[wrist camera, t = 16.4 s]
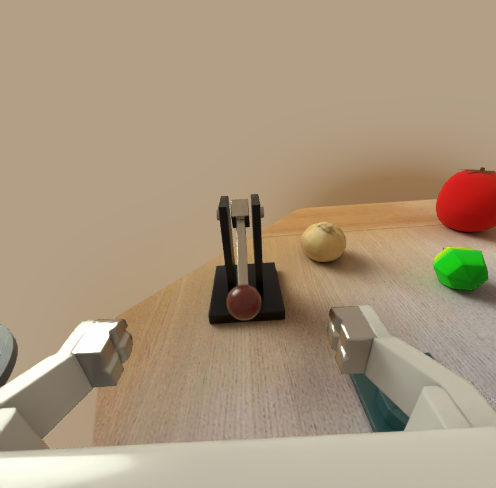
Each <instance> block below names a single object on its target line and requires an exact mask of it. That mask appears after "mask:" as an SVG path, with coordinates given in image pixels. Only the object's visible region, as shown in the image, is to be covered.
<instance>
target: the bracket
mask: <svg viewBox="0 0 496 488" xmlns="http://www.w3.org/2000/svg"><path fill="white" fill-rule="evenodd" d="M218 209H219V210H217V220H220V226H221V234H222V243H223V250H224V259H225V265H224V266H216V272H215V279H214V285H213V291H212V297H211V303H210V309H209V315H208V316H209V322H210V324H215V323H231V322H248V321H264V320H281V319H285V309H284V304H283V300H282V295H281V290H280V286H279V281H278V277H277V272H276V268H275V263H274V262H272V263H262V238H261V218H263V217H264V209H263V207H260V201H259V196H258V194H253V195H251V209H252V227H253V246H254V264H247V266H248V284H249V285H250V286H252V287H254V288H255V289H256V290H257V291H258V292H259V294H260V296H261V301H262V303H261V308H260V311H259V312H258V314H257V315H256V316H255V317H253V318H252V319H249V320H239V319H236V318H235V317H233V316H232V315H231V314H230V312H229V311H228V308H227V297H228V294H229V292H230V291H231V290H232V289H233V288H234V287H236V286H238V268H237V265H235V259H234V249H233V239H232V229H231V218H230V209H229V198H228V196H221V199H220V203H219V207H218Z"/></svg>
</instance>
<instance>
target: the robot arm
mask: <svg viewBox="0 0 496 488" xmlns="http://www.w3.org/2000/svg"><path fill="white" fill-rule="evenodd" d="M329 316H330V318H331V321H330V322H329V323H328V329H327V331H328V339H329V343H330V346H331V348H332V349H333V350H335V351H336V356H335V359H336V361H337V364H338V367H339V369H340V372H341V374H359V373H365V375H366V376H367V377H368V378H369V379H370V380H371V381H372V382H373V383H374V384H375V385H376V386H377V387H378V388H379V389H380V390H381V391H382V392H383V393H384V394H385V395H386V396H388V397H389V398H390V399H391V400H392V401H393V402H394V403H395V404H396V405H397V406H398V407H399V408H400V409H401V410H402V411H403V412H404V413H405V414H406V415H407V416H408V417H410V418H409V421H408V423H407V425H406V427H405V430H404V431H394V432H374V433H354V434H335V435H315V436H295V437H276V438H256V439H236V440H217V441H198V442H179V443H160V444H140V445H120V446H101V447H81V448H62V449H50V448H49V447H48V446H47V445H46V443H45V442H44V441H43V440H42V439H43V438H44V436H46V435H47V434H48V433H49V432H50V431H51V430H52V429H53V428H54V427H55V426H56V425H57V424H58V423H59V422H60V421H61V420H62V419H63V418H64V417H65V416H66V415H67V414H68V413H69V412H70V411H71V410H72V409H73V408H74V407H75V406H76V405H77V404H78V403H79V402H80V401H81V400H82V399H83V398H84V397H85V396H86V395H87V394H88V393H89V392H90V391H91V390H92V389H93V387H105V386H116V385H117V383H118V381H119V378H120V376H121V374H122V372H123V370H124V368H123V365H122V364H123V363H124V362H125V361H126V360H128V359H129V357H130V354H131V352H132V346H133V340H132V336H131V334H130V333H129V332H127V331H126V328H127V326H128V325H127V323H126V321H125V320H124V319H98V320H84V321H82V322H80V324H79V325H78V326H77V328H76V329H75V330H74V331H73V333H72V334H71V335H70V337H69V338H68V339H67V341H66V342H65V343H64V344H63V346H62V347H61V348H60V350H59V351H58V352H57V353H56V355H51V356H49V357H48V358H46V359H45V360H43V361H41V362H40V363H38V364H37V365H35V366H34V367H32V368H31V369H29V370H28V371H26V372H24V373H23V374H21V375H20V376H18V377H17V378H15V379H14V380H12V381H10V382H9V383H7V384H6V385H4V386H3V387H1V388H0V488H496V410H495V409H494V408H493V407H492V406H491V405H490V403H489V402H488V401H487V400H486V399H485V397H484V396H483V395H482V394H481V393H480V392H479V390H478V389H477V388H476V387H475V386H474V384H473V383H471V382H470V381H468V380H466V379H465V378H463V377H462V376H460V375H458V374H457V373H455V372H453V371H452V370H450V369H449V368H447V367H445V366H444V365H442V364H440V363H439V362H437V361H435V360H434V359H432V358H431V357H429V356H427V355H426V354H424V353H422V352H421V351H419V350H418V349H416V348H414V347H413V346H411V345H409V344H408V343H406V342H404V341H403V340H401V339H400V338H398V337H393V336H392V335H391V333H390V332H389V330H388V329H387V327H386V326H385V324H384V323H383V321H382V320H381V319H380V317H379V316H378V314H377V313H376V311H375V310H374V308H373V307H372V306H371V305H362V306H348V307H332V308H331V309H330V313H329Z"/></svg>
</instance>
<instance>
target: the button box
mask: <svg viewBox="0 0 496 488" xmlns="http://www.w3.org/2000/svg"><path fill="white" fill-rule="evenodd" d="M424 354H426V355H427V356H429V357H431V358H432V359H433V357H432V356H431V355H430V353H424ZM350 376H351V379H352V381H353V384H354V386H355V388H356V391H357V393H358V396H359V398H360V401H361V403H362V405H363V408H364V410H365V413H366V415H367V417H368V420H369V422H370V425H371V427H372V429H373V432H394V431H404V430H405V427H406V425H407V423H408V421H409V418H410V417H408V416H407V415H406V414H405V413H404V412H403V411H402V410H401V409H400V408H399V407H398V406H397V405H396V404H395V403H394V402H393V401H392V400H391V399H390V398H389V397H388V396H386V395H385V394H384V393H383V392H382V391H381V390H380V389H379V388H378V387H377V386H376V385H375V384H374V383H373V382H372V381H371V380H370V379H369V378H368V377H367V376H366V375H365V373H359V374H350Z"/></svg>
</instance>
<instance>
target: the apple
mask: <svg viewBox="0 0 496 488" xmlns="http://www.w3.org/2000/svg"><path fill="white" fill-rule="evenodd" d="M433 267H434V270H435V272H436V274H437V277H438V279H439V282H440V283H442V284H444V285H446V286H448V287H450V288H453V289H464V290H473V289H475V288H476V287H478V286H479V285H481V284H482V283H484V282H485V281H487V280H488V271H487V267H486V264H485V261H484V258H483V255H482V252H481V251H478V250H474V249H469V248H462V247H447V248H444V247H443V251H442V252H441V253H439V254H438V255H437V256H436V257H435V258H434V262H433Z"/></svg>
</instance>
